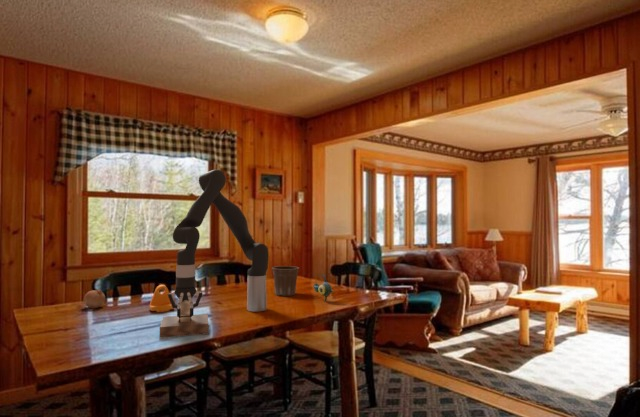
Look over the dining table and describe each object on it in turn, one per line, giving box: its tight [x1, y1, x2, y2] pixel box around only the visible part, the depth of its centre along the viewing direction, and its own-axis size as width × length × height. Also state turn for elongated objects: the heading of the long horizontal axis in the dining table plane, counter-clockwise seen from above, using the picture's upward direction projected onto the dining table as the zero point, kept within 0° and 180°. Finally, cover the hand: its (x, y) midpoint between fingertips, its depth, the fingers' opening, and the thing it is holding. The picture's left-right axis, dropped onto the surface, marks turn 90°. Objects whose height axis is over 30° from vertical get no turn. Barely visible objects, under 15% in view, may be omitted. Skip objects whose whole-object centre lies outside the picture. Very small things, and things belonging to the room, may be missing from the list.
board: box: [159, 313, 209, 338], centre depth 161 cm, size 18×16×4 cm
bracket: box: [148, 284, 175, 313], centre depth 195 cm, size 11×7×12 cm, turn 119°
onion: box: [83, 289, 106, 309], centre depth 199 cm, size 10×9×10 cm
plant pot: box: [271, 265, 300, 297], centre depth 236 cm, size 16×16×16 cm
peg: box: [180, 300, 190, 322], centre depth 161 cm, size 4×4×10 cm
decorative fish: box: [313, 273, 334, 302], centre depth 218 cm, size 13×12×6 cm
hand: (185, 317), depth 161 cm, fingers closed on peg, 3 cm apart
